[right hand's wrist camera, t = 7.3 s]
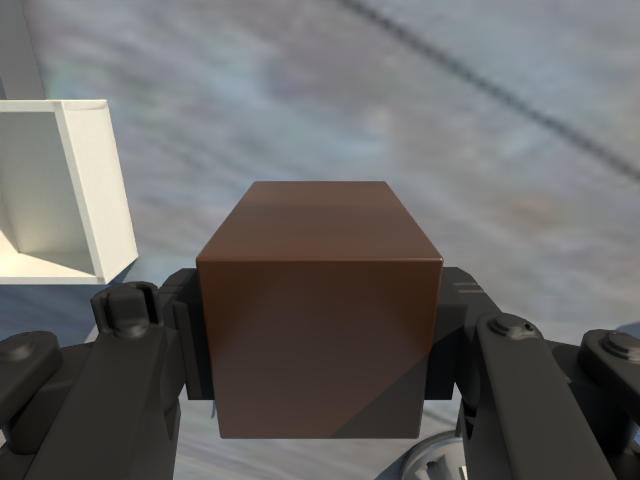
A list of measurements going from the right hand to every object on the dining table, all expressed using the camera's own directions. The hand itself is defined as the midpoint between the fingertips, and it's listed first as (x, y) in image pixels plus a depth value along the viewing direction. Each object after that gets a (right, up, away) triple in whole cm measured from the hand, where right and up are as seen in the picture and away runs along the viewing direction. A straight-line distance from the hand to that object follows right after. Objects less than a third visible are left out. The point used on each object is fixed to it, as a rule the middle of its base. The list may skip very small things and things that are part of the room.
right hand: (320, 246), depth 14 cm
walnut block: (0, 0, 0) cm, 0 cm away
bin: (-24, +11, +17) cm, 31 cm away
